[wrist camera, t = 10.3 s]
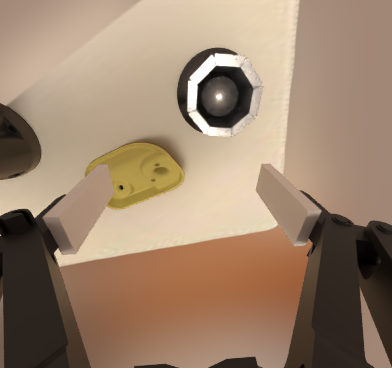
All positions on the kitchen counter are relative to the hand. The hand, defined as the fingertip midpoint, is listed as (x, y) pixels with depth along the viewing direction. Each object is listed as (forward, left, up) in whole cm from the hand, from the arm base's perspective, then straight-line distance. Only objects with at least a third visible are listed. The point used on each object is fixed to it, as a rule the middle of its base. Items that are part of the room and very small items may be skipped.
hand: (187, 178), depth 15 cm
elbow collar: (+2, +7, -22) cm, 23 cm away
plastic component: (-6, -13, -23) cm, 27 cm away
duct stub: (+3, +7, -22) cm, 24 cm away
